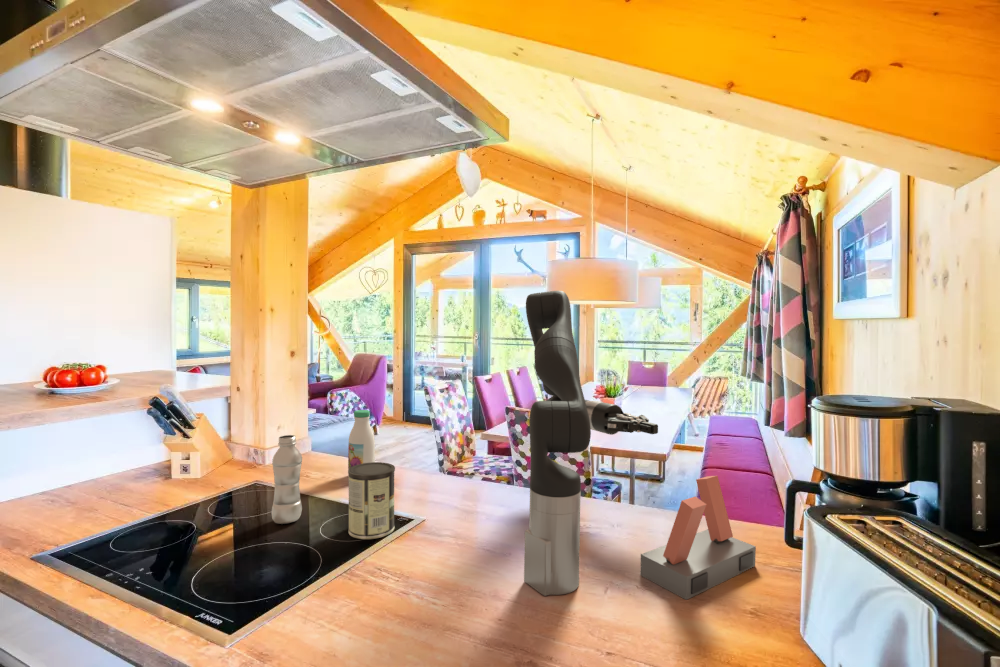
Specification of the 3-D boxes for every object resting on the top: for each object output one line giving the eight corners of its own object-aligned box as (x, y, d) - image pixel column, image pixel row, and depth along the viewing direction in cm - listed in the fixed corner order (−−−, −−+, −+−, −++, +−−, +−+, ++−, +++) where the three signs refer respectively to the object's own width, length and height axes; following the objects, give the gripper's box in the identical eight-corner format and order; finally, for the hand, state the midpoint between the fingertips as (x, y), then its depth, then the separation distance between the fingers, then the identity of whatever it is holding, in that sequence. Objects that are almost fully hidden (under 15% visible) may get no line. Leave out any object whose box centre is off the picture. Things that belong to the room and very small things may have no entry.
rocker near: (672, 566, 91) (692, 508, 88) (661, 557, 93) (681, 500, 90) (686, 561, 93) (706, 504, 90) (675, 551, 95) (694, 495, 92)
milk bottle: (367, 471, 158) (368, 407, 157) (378, 477, 152) (379, 411, 152) (344, 475, 153) (344, 410, 153) (354, 482, 147) (355, 414, 147)
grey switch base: (687, 600, 87) (688, 577, 87) (640, 575, 95) (640, 554, 95) (756, 566, 99) (757, 546, 99) (709, 547, 108) (709, 528, 107)
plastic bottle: (265, 523, 117) (265, 438, 116) (289, 514, 123) (289, 432, 122) (284, 529, 114) (284, 441, 113) (308, 519, 120) (308, 435, 119)
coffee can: (371, 517, 121) (371, 459, 121) (403, 527, 116) (404, 466, 116) (337, 532, 112) (337, 470, 112) (371, 543, 107) (371, 478, 107)
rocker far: (722, 543, 99) (706, 478, 102) (710, 543, 101) (695, 479, 104) (733, 538, 101) (717, 475, 104) (722, 538, 103) (706, 476, 106)
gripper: (582, 404, 125) (636, 416, 111) (618, 400, 133) (674, 410, 118) (581, 434, 125) (636, 449, 111) (618, 428, 133) (674, 442, 119)
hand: (655, 429), depth 115 cm, fingers closed
